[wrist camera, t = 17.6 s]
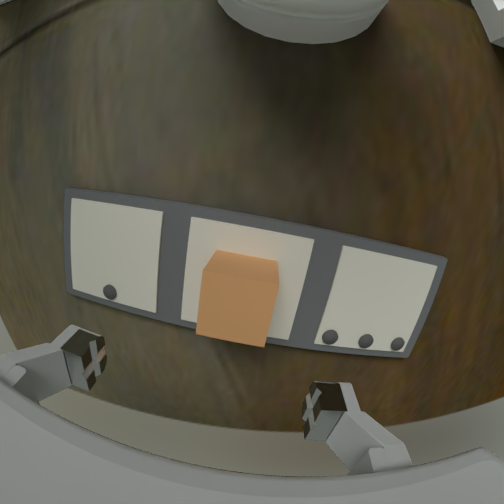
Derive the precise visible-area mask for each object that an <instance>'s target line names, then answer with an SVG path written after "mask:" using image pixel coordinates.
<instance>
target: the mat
mask: <svg viewBox="0 0 504 504" xmlns="http://www.w3.org/2000/svg"><path fill="white" fill-rule="evenodd" d="M63 240H64V266H65V280H66V291H67V293H70V294H73V295H76V296H79V297H82V298H85V299H88V300H91V301H94V302H97V303H100V304H103V305H107V306H110V307H113V308H117V309H120V310H123V311H127V312H130V313H134V314H137V315H141V316H145V317H148V318H152V319H156V320H160V321H164V322H168V323H172V324H176V325H180V326H184V327H189V328H193V329H196V326H197V316H198V307H199V298H200V289H201V281H202V272H203V269H204V268H205V266H206V265H207V263H208V262H209V260H210V259H211V257H212V256H213V254H214V253H215V251H216V250H222V251H227V252H232V253H238V254H243V255H248V256H254V257H259V258H264V259H270V260H275V261H277V262H278V275H279V288H278V292H277V296H276V301H275V305H274V309H273V313H272V318H271V322H270V326H269V330H268V334H267V338H266V342H265V343H270V344H276V345H283V346H290V347H296V348H304V349H311V350H319V351H328V352H337V353H347V354H357V355H370V356H384V357H401V358H408V357H409V355H410V353H411V351H412V349H413V347H414V345H415V343H416V340H417V338H418V336H419V334H420V332H421V329H422V327H423V325H424V323H425V320H426V318H427V316H428V313H429V311H430V308H431V306H432V303H433V301H434V298H435V295H436V293H437V290H438V287H439V284H440V282H441V279H442V276H443V273H444V270H445V267H446V264H447V260H448V259H447V258H445V257H443V256H440V255H436V254H432V253H428V252H424V251H420V250H416V249H412V248H408V247H404V246H400V245H396V244H391V243H387V242H383V241H379V240H374V239H370V238H365V237H361V236H356V235H352V234H347V233H343V232H338V231H334V230H329V229H324V228H319V227H315V226H310V225H305V224H300V223H295V222H290V221H285V220H280V219H274V218H269V217H264V216H259V215H253V214H248V213H242V212H237V211H231V210H225V209H219V208H214V207H208V206H202V205H196V204H190V203H183V202H177V201H170V200H164V199H157V198H151V197H144V196H137V195H129V194H122V193H115V192H107V191H99V190H91V189H83V188H74V187H68V188H65V193H64V219H63Z"/></svg>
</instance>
